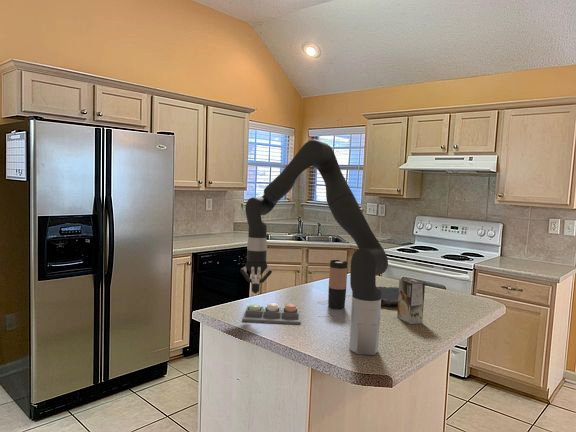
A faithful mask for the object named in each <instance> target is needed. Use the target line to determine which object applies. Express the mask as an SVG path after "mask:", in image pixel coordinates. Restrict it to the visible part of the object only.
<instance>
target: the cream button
mask: <svg viewBox="0 0 576 432" xmlns="http://www.w3.org/2000/svg"><path fill="white" fill-rule="evenodd" d="M266 307H267V311H268V312H278V308H279V304H278V303H274V302H271V303H267V304H266Z"/></svg>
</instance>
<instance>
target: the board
mask: <svg viewBox="0 0 576 432" xmlns="http://www.w3.org/2000/svg"><path fill="white" fill-rule="evenodd" d="M377 287H378V288H380V289H381V291H382V296H381V306H384V307H385V306H386V307H388V306H390V307H391V306H392V307H396V306H398V295H399V286H398V287H396V286H389V287H387V286H377Z"/></svg>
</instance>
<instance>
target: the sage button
mask: <svg viewBox="0 0 576 432" xmlns="http://www.w3.org/2000/svg"><path fill="white" fill-rule="evenodd" d="M260 307H261V305H260V304H249V311H260Z"/></svg>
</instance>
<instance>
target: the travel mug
mask: <svg viewBox="0 0 576 432" xmlns="http://www.w3.org/2000/svg"><path fill="white" fill-rule="evenodd" d="M348 264H349V263H348V261H346V260H344V261H341V260H339V259H332V260H330V261H329V273H328V274H329V275H328V292H327V293H328V294H327V295H328V297H327V298H328V300H327V301H328V302H327V306H328V308H329V309H334V310H343V309H345V307H346V296H347V282H348V281H347V280H348V279H347V278H348Z"/></svg>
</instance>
